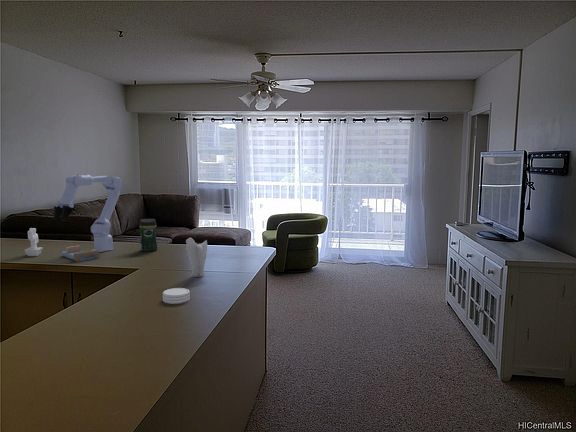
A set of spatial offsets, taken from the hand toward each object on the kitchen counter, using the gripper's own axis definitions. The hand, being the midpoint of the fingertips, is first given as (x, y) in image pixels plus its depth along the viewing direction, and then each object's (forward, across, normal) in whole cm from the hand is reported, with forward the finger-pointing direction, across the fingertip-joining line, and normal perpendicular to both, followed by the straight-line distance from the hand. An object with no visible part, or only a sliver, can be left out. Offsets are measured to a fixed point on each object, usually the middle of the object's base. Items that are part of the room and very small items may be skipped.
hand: (59, 220), depth 229 cm
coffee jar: (+1, +14, +48) cm, 50 cm away
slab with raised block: (+15, -7, +16) cm, 23 cm away
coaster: (+30, +98, +8) cm, 103 cm away
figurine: (+19, -23, +4) cm, 30 cm away
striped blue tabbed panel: (+15, +3, +17) cm, 23 cm away
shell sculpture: (+16, +79, +32) cm, 87 cm away
